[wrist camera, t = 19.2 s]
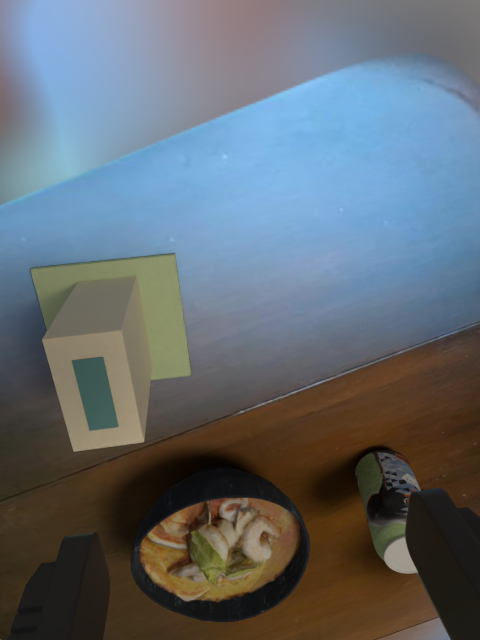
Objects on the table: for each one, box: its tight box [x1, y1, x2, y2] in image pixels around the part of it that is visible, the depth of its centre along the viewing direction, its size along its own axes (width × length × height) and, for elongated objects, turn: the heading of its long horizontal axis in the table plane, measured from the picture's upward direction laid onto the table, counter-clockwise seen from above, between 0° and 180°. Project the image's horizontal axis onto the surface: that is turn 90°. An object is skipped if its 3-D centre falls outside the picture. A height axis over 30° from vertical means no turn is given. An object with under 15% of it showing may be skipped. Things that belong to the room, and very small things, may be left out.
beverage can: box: [355, 450, 421, 574], centre depth 46 cm, size 6×7×12 cm
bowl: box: [131, 465, 310, 622], centre depth 46 cm, size 17×17×10 cm
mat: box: [30, 253, 191, 380], centre depth 41 cm, size 12×12×1 cm
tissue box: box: [42, 276, 152, 451], centre depth 35 cm, size 5×9×11 cm, turn 4°
